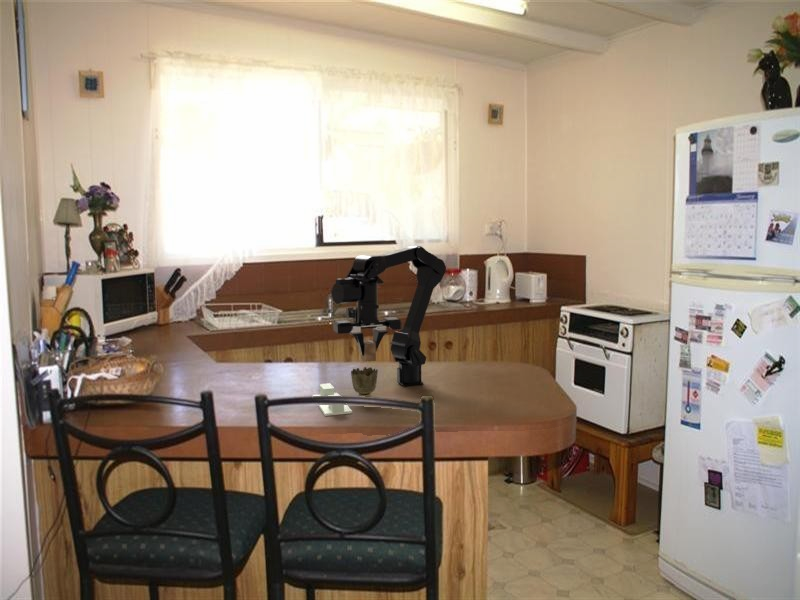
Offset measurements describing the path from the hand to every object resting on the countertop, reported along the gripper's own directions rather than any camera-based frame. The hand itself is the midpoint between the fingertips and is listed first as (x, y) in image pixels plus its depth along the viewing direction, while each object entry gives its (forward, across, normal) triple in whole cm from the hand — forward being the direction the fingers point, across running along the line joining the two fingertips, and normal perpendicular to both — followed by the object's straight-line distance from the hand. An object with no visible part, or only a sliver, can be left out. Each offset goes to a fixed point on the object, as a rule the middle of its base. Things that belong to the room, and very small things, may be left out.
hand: (368, 355), depth 179 cm
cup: (+11, +3, +5) cm, 12 cm away
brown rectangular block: (+1, 0, 0) cm, 1 cm away
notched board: (+11, +13, +7) cm, 18 cm away
